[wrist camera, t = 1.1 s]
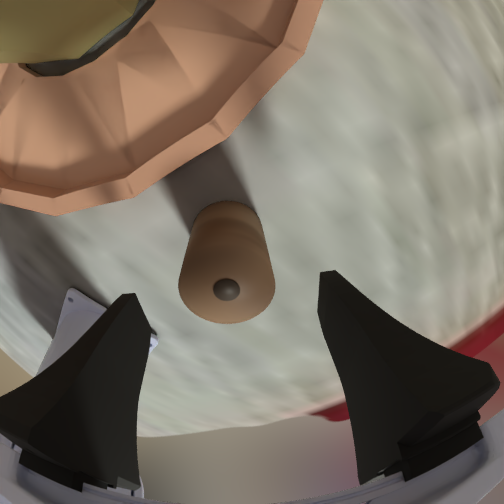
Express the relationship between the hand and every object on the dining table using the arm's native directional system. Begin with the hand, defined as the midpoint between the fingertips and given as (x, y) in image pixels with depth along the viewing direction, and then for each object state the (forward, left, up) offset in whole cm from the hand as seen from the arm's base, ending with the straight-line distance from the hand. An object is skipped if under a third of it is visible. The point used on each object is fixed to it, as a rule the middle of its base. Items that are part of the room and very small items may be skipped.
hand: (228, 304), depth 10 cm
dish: (+7, +16, -6) cm, 18 cm away
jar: (+7, +16, -6) cm, 19 cm away
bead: (0, 0, -6) cm, 6 cm away
